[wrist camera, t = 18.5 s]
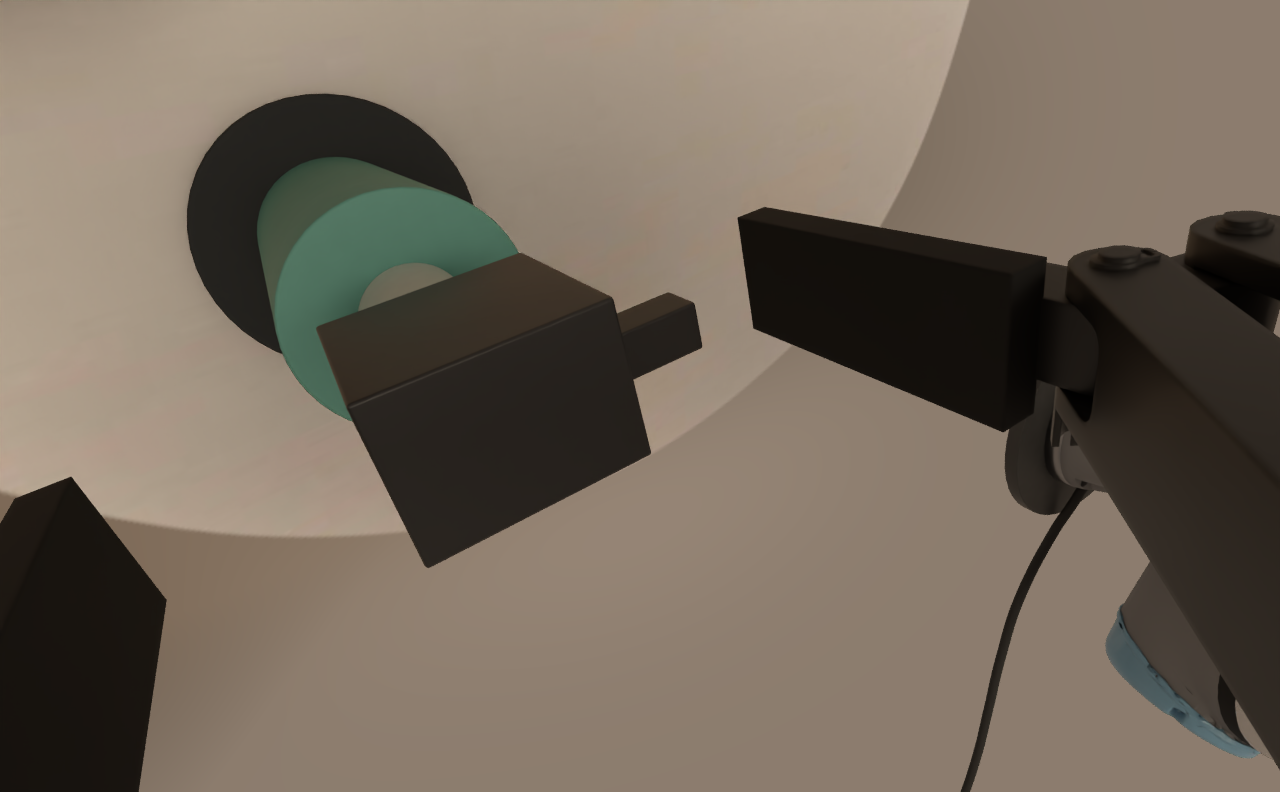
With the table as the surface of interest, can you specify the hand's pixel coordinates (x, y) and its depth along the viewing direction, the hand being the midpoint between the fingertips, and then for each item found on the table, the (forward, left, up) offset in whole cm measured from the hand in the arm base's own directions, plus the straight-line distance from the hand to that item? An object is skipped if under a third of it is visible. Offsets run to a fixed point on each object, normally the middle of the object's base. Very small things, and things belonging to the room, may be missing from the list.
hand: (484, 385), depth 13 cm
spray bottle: (0, 0, -18) cm, 18 cm away
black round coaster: (0, 0, -19) cm, 19 cm away
